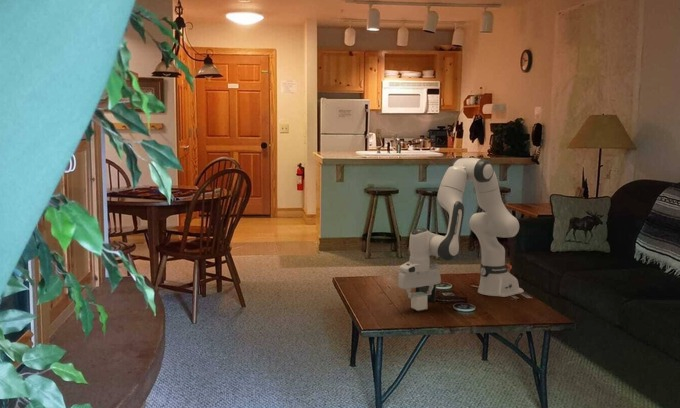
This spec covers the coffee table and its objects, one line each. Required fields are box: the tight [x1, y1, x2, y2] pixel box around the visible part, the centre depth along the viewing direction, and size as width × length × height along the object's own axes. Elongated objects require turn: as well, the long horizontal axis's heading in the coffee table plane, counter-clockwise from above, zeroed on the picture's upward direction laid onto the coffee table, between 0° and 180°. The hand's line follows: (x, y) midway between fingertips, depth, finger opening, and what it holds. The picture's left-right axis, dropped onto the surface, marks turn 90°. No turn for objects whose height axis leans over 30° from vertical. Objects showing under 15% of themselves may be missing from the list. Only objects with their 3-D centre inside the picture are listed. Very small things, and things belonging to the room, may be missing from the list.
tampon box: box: [415, 284, 437, 303], centre depth 293 cm, size 11×9×15 cm
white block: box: [410, 291, 428, 311], centre depth 274 cm, size 5×5×7 cm
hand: (419, 296), depth 275 cm, fingers open, 8 cm apart
